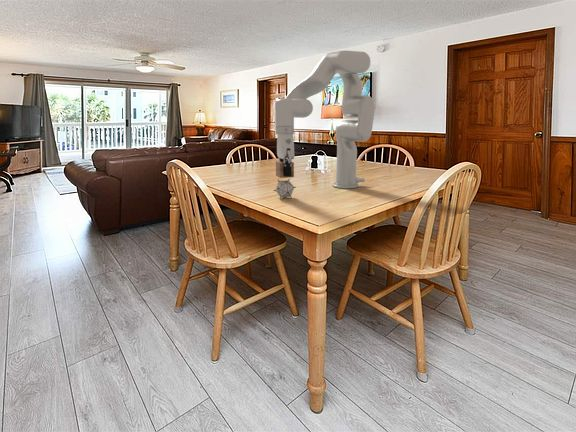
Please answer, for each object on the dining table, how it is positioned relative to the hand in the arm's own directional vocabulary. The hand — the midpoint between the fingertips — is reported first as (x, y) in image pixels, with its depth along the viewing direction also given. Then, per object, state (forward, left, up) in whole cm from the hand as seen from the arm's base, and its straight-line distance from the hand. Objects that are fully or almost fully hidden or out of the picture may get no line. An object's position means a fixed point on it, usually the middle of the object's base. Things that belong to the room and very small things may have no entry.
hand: (284, 174), depth 151 cm
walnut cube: (0, 0, -1) cm, 1 cm away
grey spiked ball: (0, 0, -10) cm, 10 cm away
